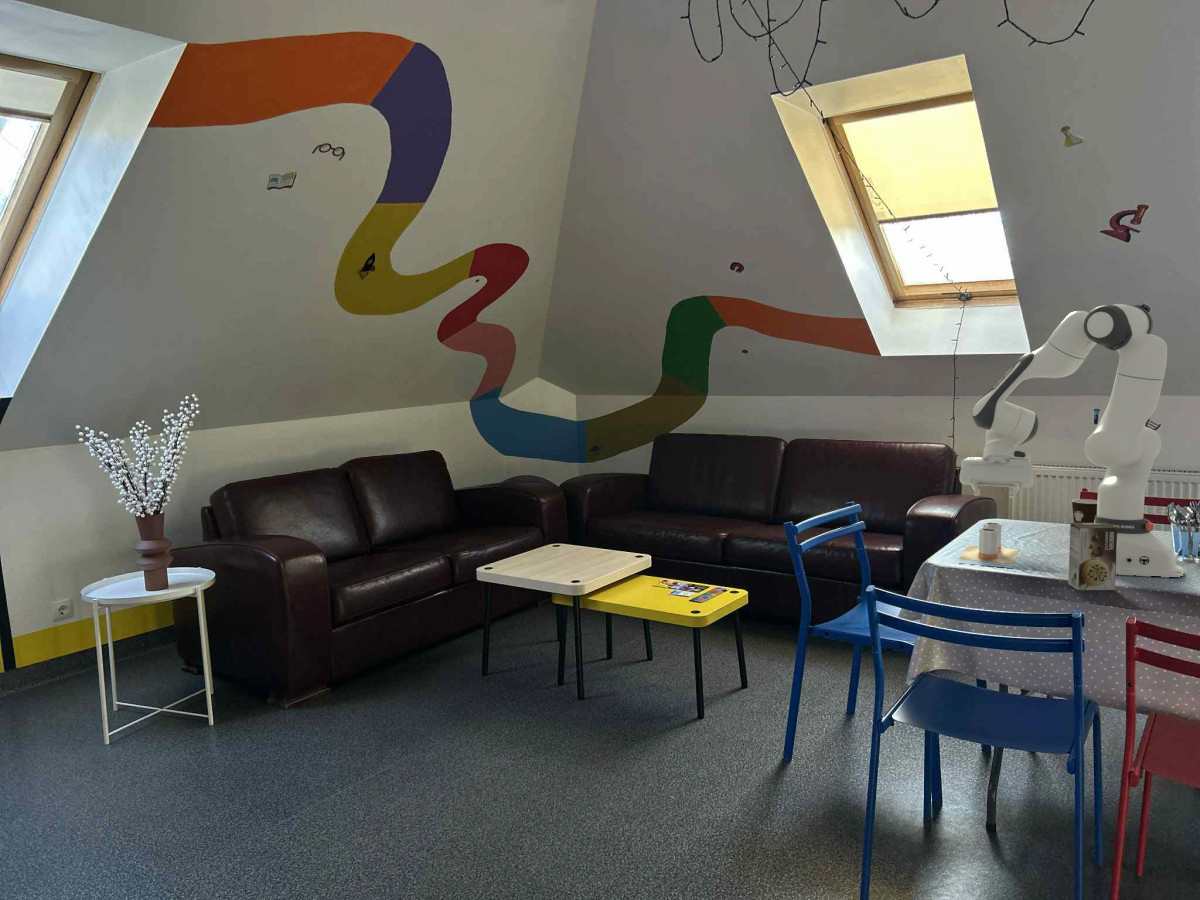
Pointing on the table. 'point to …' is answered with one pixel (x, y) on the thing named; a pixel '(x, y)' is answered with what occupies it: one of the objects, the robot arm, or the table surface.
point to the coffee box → (1092, 556)
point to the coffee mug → (1084, 510)
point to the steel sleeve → (988, 544)
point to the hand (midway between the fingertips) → (994, 495)
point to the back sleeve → (998, 527)
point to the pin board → (1003, 557)
